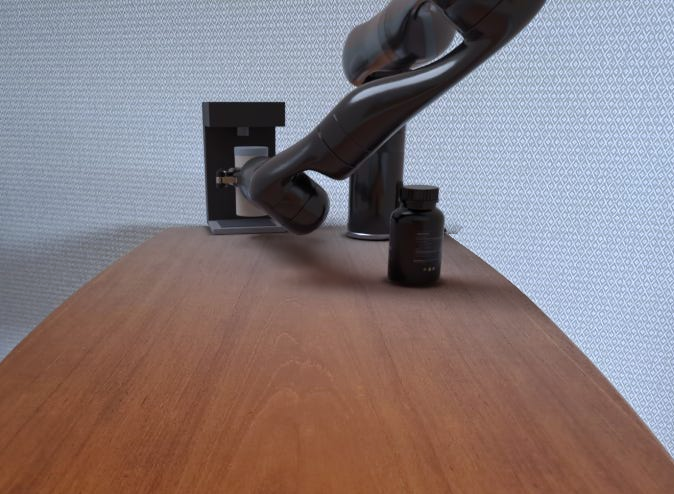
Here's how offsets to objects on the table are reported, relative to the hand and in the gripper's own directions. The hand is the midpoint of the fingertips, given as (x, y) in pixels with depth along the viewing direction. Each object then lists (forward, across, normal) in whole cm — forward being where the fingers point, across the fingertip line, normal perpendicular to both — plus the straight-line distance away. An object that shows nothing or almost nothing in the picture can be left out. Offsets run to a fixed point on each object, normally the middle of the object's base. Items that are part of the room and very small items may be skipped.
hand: (249, 173), depth 116 cm
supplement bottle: (-38, +16, -11) cm, 42 cm away
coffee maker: (+7, 0, -10) cm, 13 cm away
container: (-3, 0, -6) cm, 7 cm away
